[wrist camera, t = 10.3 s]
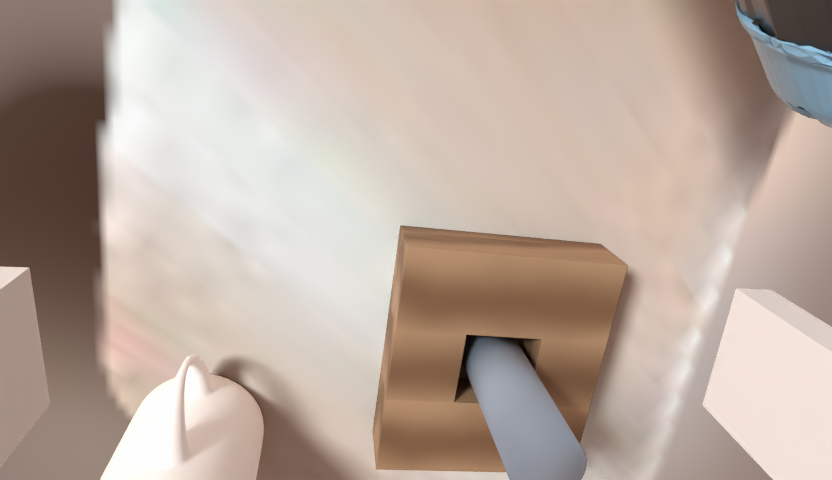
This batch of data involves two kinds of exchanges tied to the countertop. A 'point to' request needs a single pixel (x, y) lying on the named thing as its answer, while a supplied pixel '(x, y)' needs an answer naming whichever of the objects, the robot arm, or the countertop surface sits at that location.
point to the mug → (191, 431)
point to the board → (487, 316)
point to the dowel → (521, 412)
